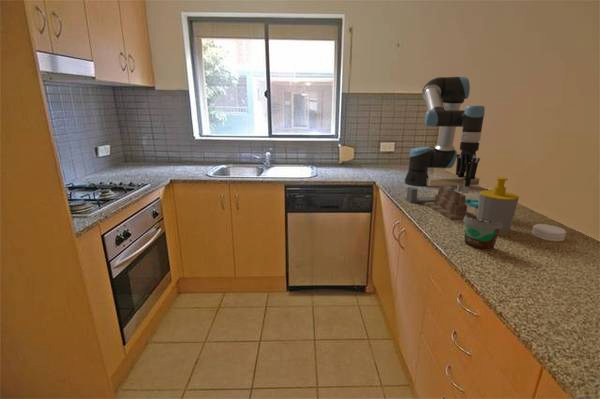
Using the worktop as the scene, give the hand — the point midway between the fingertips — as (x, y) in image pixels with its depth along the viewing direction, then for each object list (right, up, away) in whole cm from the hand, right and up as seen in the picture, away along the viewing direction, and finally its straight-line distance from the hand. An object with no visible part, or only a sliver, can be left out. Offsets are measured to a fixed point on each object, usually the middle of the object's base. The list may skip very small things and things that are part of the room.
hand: (462, 192), depth 145 cm
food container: (-14, -20, -36) cm, 43 cm away
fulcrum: (-5, -9, +2) cm, 11 cm away
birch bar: (-5, +3, -2) cm, 7 cm away
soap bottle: (+1, -16, -20) cm, 26 cm away
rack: (-8, -4, +19) cm, 21 cm away
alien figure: (+19, -7, +12) cm, 23 cm away
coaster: (+18, -18, -27) cm, 37 cm away
